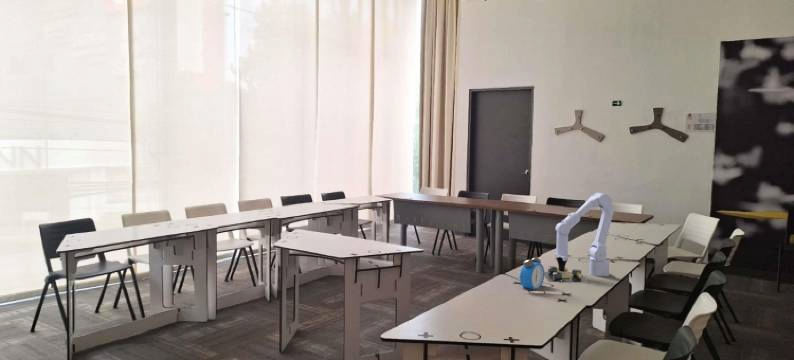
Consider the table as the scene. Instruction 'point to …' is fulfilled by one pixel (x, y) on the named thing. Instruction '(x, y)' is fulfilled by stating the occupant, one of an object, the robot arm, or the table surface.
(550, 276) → the dark grey square plate
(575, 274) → the knob
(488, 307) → the table surface
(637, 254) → the table surface
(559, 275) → the knob
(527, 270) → the alarm clock
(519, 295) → the table surface
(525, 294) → the table surface
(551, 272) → the knob
